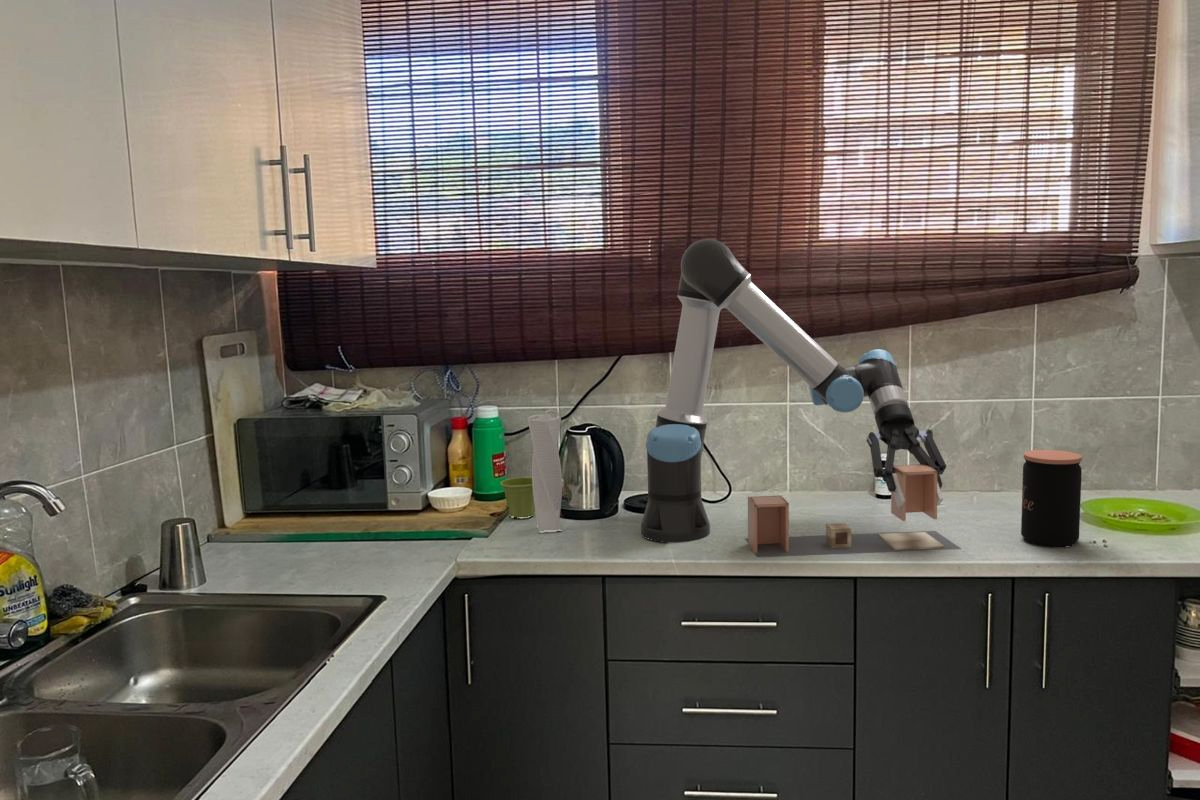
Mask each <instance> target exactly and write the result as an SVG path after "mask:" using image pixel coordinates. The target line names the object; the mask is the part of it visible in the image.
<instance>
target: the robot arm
mask: <svg viewBox="0 0 1200 800" xmlns="http://www.w3.org/2000/svg"><path fill="white" fill-rule="evenodd" d="M751 275H752V274H751V273H749V272H748V271H747V270H746V268H744V266H743V265H742V264H740V262H739V261H738V259H737V258H736V257H735V255H733V252H731V249H730V248H729V246H727V245H726V244H725V243H723V242H721V241H719V240H717V239H714V238H702V239H699V240H696V241H695V242H693V243H691V244H690V245H689V246H687V249H685V251H684V252H683V255H682V256H681V261H680V277H679V278H680V279H679V285H678V291H677V298H678V299H679V301H680V303H681V306H682V307H681V312H680V319H679V325H678V330H677V336H676V341H675V342H676V343H675V348H674V353H673V354H674V355H673V360H672V367H671V373H670V378H669V382H668V383H669V385H668V390H667V395H666V401H665V402H666V403H665V406H664V407H663V408H662V409H661V410H659V411H658V412H657V417H656V422H655V427H653V428H652V429H650V430H649V431H648V433H647V436H646V442H645V448H646V461H647V467H646V468H647V497H648V498H647V503H646V506H645V509H644V512H643V513H644V514H643V517H642V519H641V524H640V534H642V535H643V536H644V537H646V538H649V539H652V540H656V541H655V542H657V541H663V542H662V543H665V542H668V543H685V542H687V543H688V542H693V541H694V542H695V541H698V540H702V539H705V538H706V537H708V536H710V534H711V524H710V520H709V517H708V515H707V512H706V509H705V506H704V503H703V500H702V474H701V473H702V471H701V470H702V455H703V451H704V442H705V437H706V430H707V424H708V420H707V418H706V417H705V416H704V414H703V410H704V405H705V399H706V394H707V393H706V392H707V386H708V381H709V375H710V370H711V363H712V359H713V358H712V357H713V353H714V346H715V342H716V335H717V331H718V330H717V329H718V324H719V319H720V313H721V311H722V309H726V310H727V311H728V312H730V313H731V314H732V315H733V316H734V317H735V318H736V319H737V320H738V321H739V322H740V323H741V324H743V325H744V326H745V328H747V329H748V330H749V331H750V332H751V333H752V334H753V335H755V337H756V338H758V339H759V341H760V342H762V343H763V344H764V345H765V346H766V347H767V348H768V349H769V350H771V351H772V352H773V354H774V355H776V356H777V357H778V358H779V359H780V360H781V361H783V363H785V365H787V366H788V367H789V368H790V369H791V370H792V371H793V372H794V373H795V374H796V375H797V376H799V377H800V378H801V379H802V380H803V381H804V382H805V383H806V384H807V385H808V388H809V394H810V398H811V401H812V403H813V405H815V406H822V405H824V406H827V405H828V406H829V407H830V408H832V409H833V410H834V411H835V412H839V413H846V414H847V413H852V412H853V411H856V410H857V409H858V408H859V407H860V406H861V405H862V403H863V401H864V398H866V397H868V399H869V404H870V408H871V409H872V413H873V415H874V420H875V421H874V422H875V423H876V427H877V430H878V432H875V433H874V432H873V431H870V432H869V433H868V436H867V438H866V443H867V445H868V447H869V449H870V454H871V462H872V463H871V464H872V469H873V476H874V477H875V478H877V479H878V478H882V480H883V482H884V483H885V484H886V487H887V490H888V492H889V493H891V492H893V493H894V497H895V500H896V503H897V507H898V508H901V507H902V505H903V503H904V502H905V499H904V496H903V493H902V489H901V486H900V483H899V479H898V476H897V473H893V475H892V471H893V466H894V462H895V457H896V451H899V450H905V451H908V452H909V454H911V455H913V457H914V458H915V459H916V460H917V462H918V463H919V464H925V465H927V466H929V467H931V468H933V469H935V470H937V507H939V506H940V505H942V502H943V500H944V496H943V494H942V491H941V489H942V487H943V481H942V478H941V476H940V475H943V474H944V472H945V470H946V468H947V464H946V463H945V460H944V458H943V456H942V454H941V452H940V450H939V448H938V445H937V444H936V442H935V440H934V434H933V430H932V429H927V430H926V431H924V430H923V431H922V430H919V428H918V427H917V426H916V425H915V420H914V417H913V414H912V411H911V408H910V407H909V406H910V405H909V401H908V399H907V397H906V393H905V390H904V387H903V384H902V381H901V378H900V374H899V372H898V367H897V365H896V363H895V361H894V359H893V356H892V354H891V353H890V352H889V351H887V350H885V349H880V348H879V349H872V350H869V352H866V353H864V354H862V355H861V356H860V358H859V360H858V363H857V364H853V365H849V366H842V365H840V363H838V361H836V359H834V357H832V356H831V355H830V354H829V353H828V352H827V351H825V349H823V348H822V346H820V345H819V344H818V343H817V342H816V341H815V340H814V339H813V338H812V337H811V336H810V335H808V334H807V332H805V330H803V329H802V328H801V327H800V326H799V324H797V322H795V321H794V320H793V319H792V318H791V317H790V316H788V315H787V314H786V312H784V311H783V310H782V309H781V308H780V307H779V306H777V304H776V303H774V302H773V301H772V299H771V298H769V297H768V296H767V295H766V294H765V293H764V292H763V291H762V290H760V288H759V287H757V285H755V284H754V283H753V282H752V276H751ZM918 438H919V439H920V440H921V441H919V440H918ZM880 440H881V442H882V443H884V444H885V445H887V448H886V449H887V450H886V458H885V465H883V461H882V453H881V447H880ZM920 442H921V443H923V445H924V448H925V450H926V451H925V450H924V448H923V447H922V446H921V443H920ZM883 466H884V468H883ZM642 535H641V536H642ZM643 536H642V537H643ZM644 537H643V538H644ZM646 538H645V539H646ZM649 539H648V540H649ZM652 540H651V541H652Z"/></svg>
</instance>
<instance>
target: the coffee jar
mask: <svg viewBox="0 0 1200 800" xmlns="http://www.w3.org/2000/svg"><path fill="white" fill-rule="evenodd" d="M1023 459H1024V461H1025V462H1024V463H1023V465H1022V484H1021V485H1022V488H1021V489H1022V490H1021V492H1022V493H1021V495H1022V496H1021V521H1020V522H1021V524H1020V535H1021V536H1022V538H1023V540H1024V541H1025V542H1026V541H1027V543H1029V544H1031V545H1036V546H1039V547H1044V546H1045V548H1053V547H1063V548H1067V547H1066V546H1070V547H1073V546H1074V544H1075V545H1076V543H1078V541H1079V539H1080V525H1081V521H1080V520H1081V519H1080V518H1081V502H1082V501H1081V498H1082V497H1081V496H1082V474H1083V472H1082V467H1081V465H1080V464H1081V462H1082V461H1083V456H1082V454H1079V453H1076V452H1071V451H1067V450H1058V449H1032V450H1028V451H1027V450H1026V451H1024V452H1023ZM1072 545H1073V546H1072Z"/></svg>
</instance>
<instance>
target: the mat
mask: <svg viewBox="0 0 1200 800" xmlns="http://www.w3.org/2000/svg"><path fill="white" fill-rule="evenodd" d="M915 532H925V533H927V534H928V535H930V536H931V537H933V538H934V539H935V540H937V541H938V542H940V543H941V544H942V545H944V546H945V547H944V548H929V549H905V550H895V549H893V548H892V547H891V546H890V545H889V544H887V543H886V542H885V541H884V540H883V539H881V538H880V537H879V536H878V534H890V533H915ZM744 541H746V543H747V544H748V537H746V538H744ZM943 550H945V551H948V550H962V548H961V547H959V546H958V545H956V544H955V543H954V542H952V541H951V540H949V539H948V538H947V537H945V536H944V535H942V534H940V533H939V532H938V531H936V530H921V531H918V530H917V531H895V532H894V531H893V532H873V533H872V532H871V533H867V532H866V533H851V547H849V548H831V547H830V546H829V545H828V544H827V543H826V534H823V535H796V536H789V552H786V551H785V550H784V549H783V547H782V546H781V545H780V543H771V544H757V553H754V555H755V556H756V557H757V558H772V557H773V558H774V557H778V558H779V557H799V556H800V557H801V556H803V557H804V556H821V555H822V556H823V555H827V556H828V555H845V554H846V555H851V554H869V553H871V554H874V553H896V552H918V551H919V552H920V551H923V552H925V551H943Z"/></svg>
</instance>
